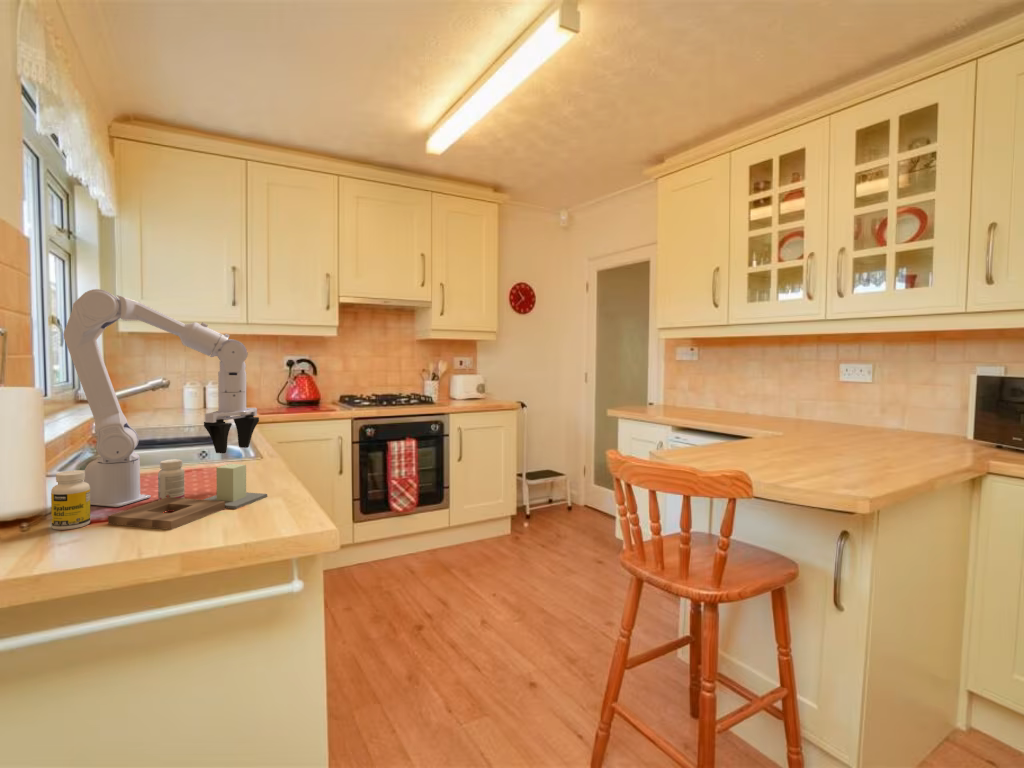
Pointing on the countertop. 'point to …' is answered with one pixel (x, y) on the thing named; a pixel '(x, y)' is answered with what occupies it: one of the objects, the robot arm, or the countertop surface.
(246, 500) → the charcoal mat
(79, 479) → the supplement bottle
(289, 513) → the countertop surface
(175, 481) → the pill bottle
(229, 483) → the sage block
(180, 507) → the walnut holder
